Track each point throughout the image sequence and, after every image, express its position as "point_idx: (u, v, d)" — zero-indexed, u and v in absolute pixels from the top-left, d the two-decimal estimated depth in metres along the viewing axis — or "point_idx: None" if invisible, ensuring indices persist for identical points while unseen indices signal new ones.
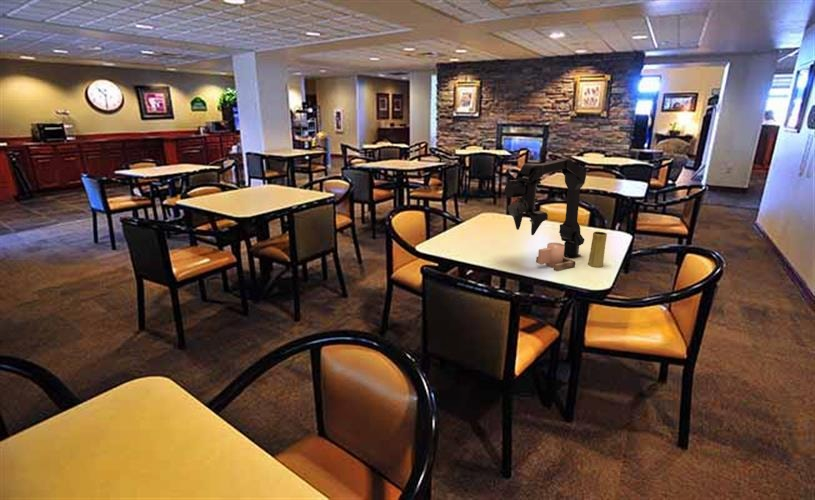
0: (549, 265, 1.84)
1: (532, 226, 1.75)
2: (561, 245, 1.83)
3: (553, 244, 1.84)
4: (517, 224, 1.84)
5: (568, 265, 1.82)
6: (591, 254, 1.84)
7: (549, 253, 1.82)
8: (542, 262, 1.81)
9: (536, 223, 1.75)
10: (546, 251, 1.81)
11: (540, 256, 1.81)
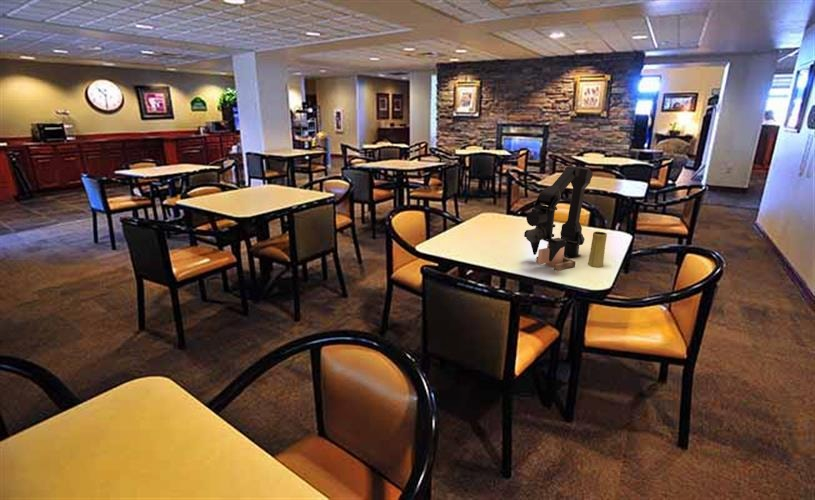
0: (549, 265, 1.84)
1: (550, 253, 1.76)
2: None
3: None
4: (534, 249, 1.85)
5: (568, 265, 1.82)
6: (591, 254, 1.84)
7: None
8: (542, 262, 1.81)
9: (554, 250, 1.76)
10: (546, 251, 1.81)
11: (540, 256, 1.81)
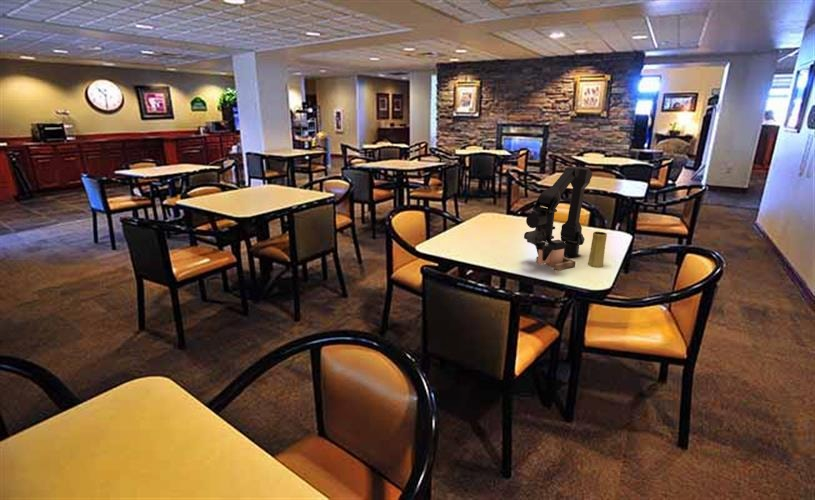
0: (549, 265, 1.84)
1: (544, 252, 1.79)
2: None
3: None
4: None
5: (568, 265, 1.82)
6: (591, 254, 1.84)
7: None
8: (542, 262, 1.81)
9: (548, 249, 1.79)
10: None
11: (540, 256, 1.81)
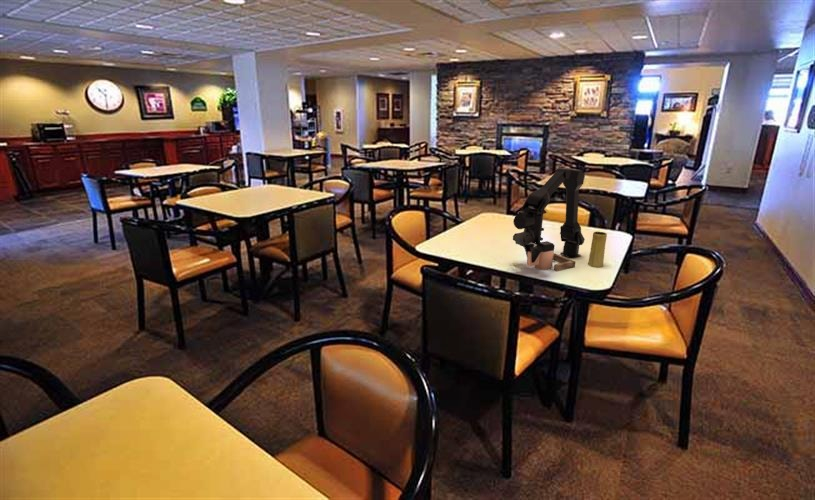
0: (538, 267, 1.81)
1: (532, 254, 1.76)
2: None
3: None
4: None
5: (568, 265, 1.82)
6: (591, 254, 1.84)
7: None
8: (531, 264, 1.79)
9: (536, 251, 1.76)
10: None
11: (529, 258, 1.78)
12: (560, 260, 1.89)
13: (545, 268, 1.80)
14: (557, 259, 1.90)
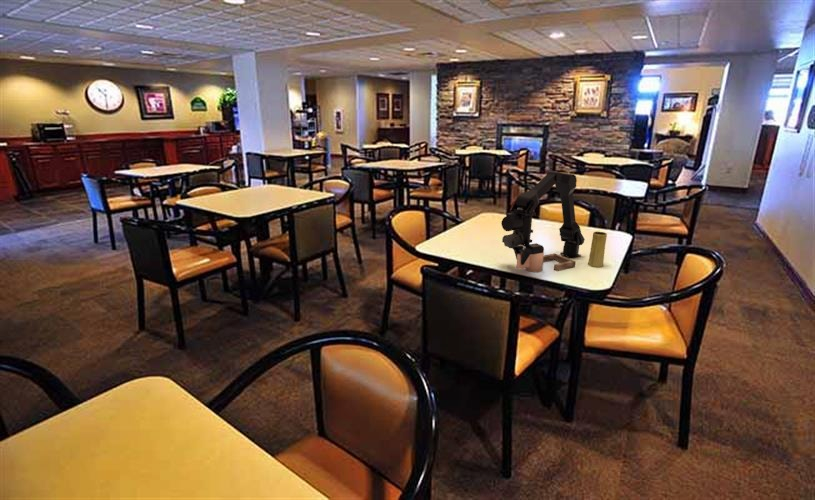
0: (529, 269, 1.79)
1: (522, 256, 1.74)
2: None
3: None
4: None
5: (568, 265, 1.82)
6: (591, 254, 1.84)
7: (528, 257, 1.77)
8: (521, 267, 1.77)
9: (526, 253, 1.74)
10: None
11: (519, 260, 1.76)
12: (560, 260, 1.89)
13: (535, 270, 1.78)
14: (557, 259, 1.90)
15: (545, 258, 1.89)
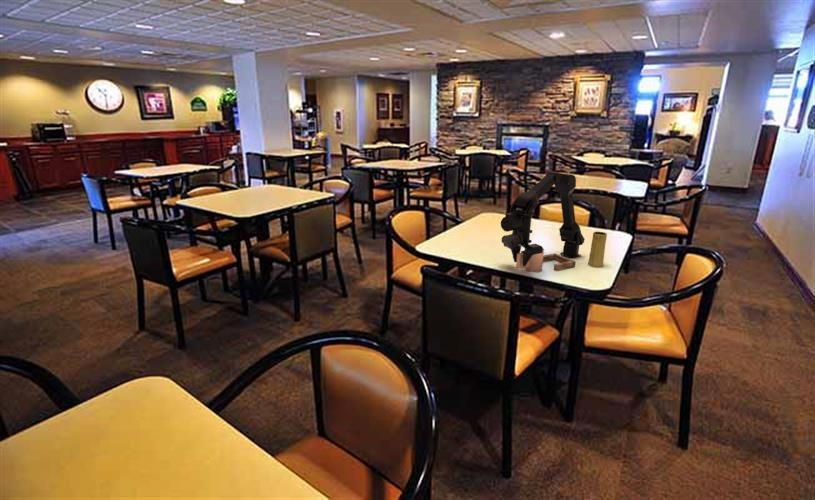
0: (528, 269, 1.79)
1: (523, 257, 1.73)
2: None
3: None
4: (515, 257, 1.78)
5: (568, 265, 1.82)
6: (591, 254, 1.84)
7: None
8: (521, 266, 1.77)
9: (527, 254, 1.73)
10: None
11: (518, 260, 1.76)
12: (560, 260, 1.89)
13: (535, 270, 1.78)
14: (557, 259, 1.90)
15: (545, 258, 1.89)
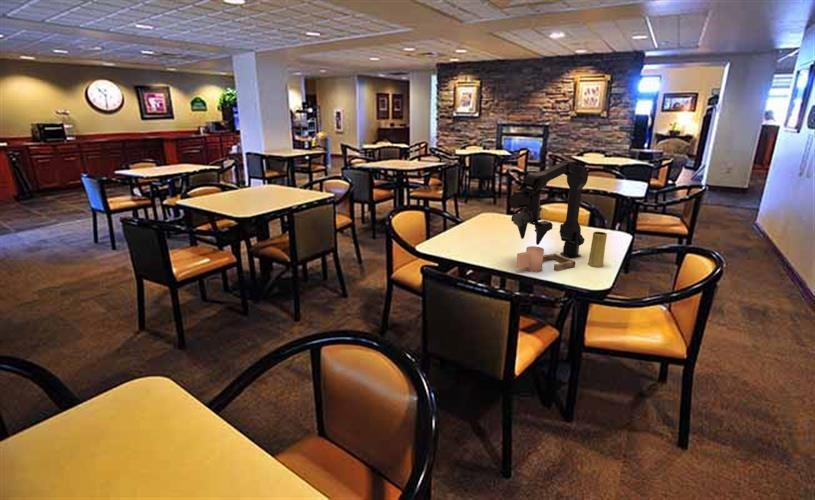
0: (528, 269, 1.79)
1: (537, 236, 1.76)
2: (540, 249, 1.78)
3: (532, 248, 1.79)
4: (522, 233, 1.85)
5: (568, 265, 1.82)
6: (591, 254, 1.84)
7: (528, 257, 1.77)
8: (521, 266, 1.77)
9: (541, 233, 1.76)
10: (525, 255, 1.76)
11: (518, 260, 1.76)
12: (560, 260, 1.89)
13: (535, 270, 1.78)
14: (557, 259, 1.90)
15: (545, 258, 1.89)
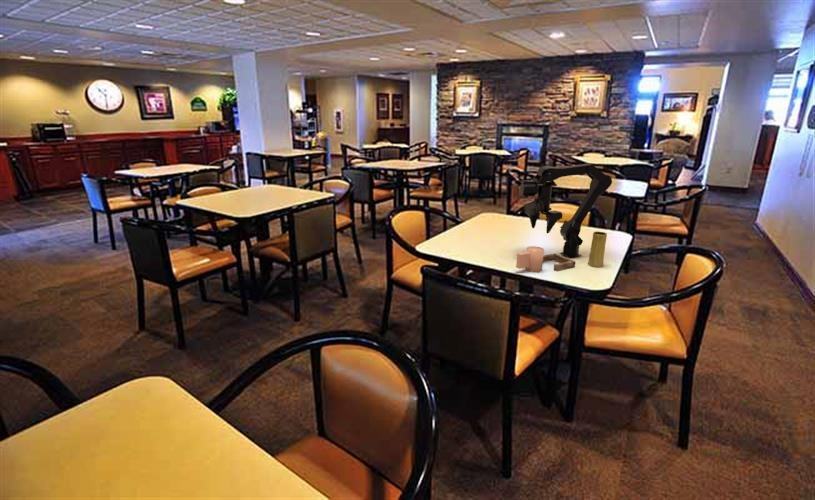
0: (528, 269, 1.79)
1: (547, 225, 1.87)
2: (540, 249, 1.78)
3: (532, 248, 1.79)
4: (533, 223, 1.96)
5: (568, 265, 1.82)
6: (591, 254, 1.84)
7: (528, 257, 1.77)
8: (521, 266, 1.77)
9: (551, 222, 1.87)
10: (525, 255, 1.76)
11: (518, 260, 1.76)
12: (560, 260, 1.89)
13: (535, 270, 1.78)
14: (557, 259, 1.90)
15: (545, 258, 1.89)
